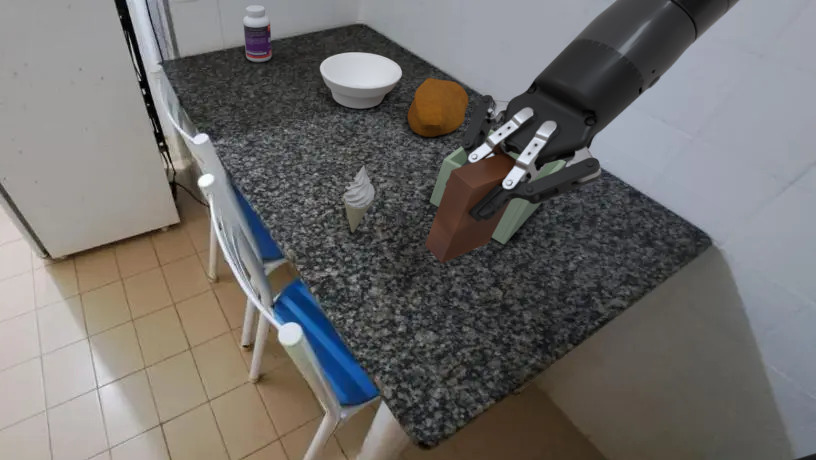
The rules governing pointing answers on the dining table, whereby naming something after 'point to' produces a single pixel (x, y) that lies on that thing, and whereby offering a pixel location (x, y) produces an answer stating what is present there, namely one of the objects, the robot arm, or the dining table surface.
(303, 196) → the dining table surface
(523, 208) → the trash bin
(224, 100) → the dining table surface
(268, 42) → the pill bottle
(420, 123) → the bread
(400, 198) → the dining table surface
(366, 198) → the ice cream cone
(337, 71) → the bowl
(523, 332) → the dining table surface
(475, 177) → the chocolate bar
